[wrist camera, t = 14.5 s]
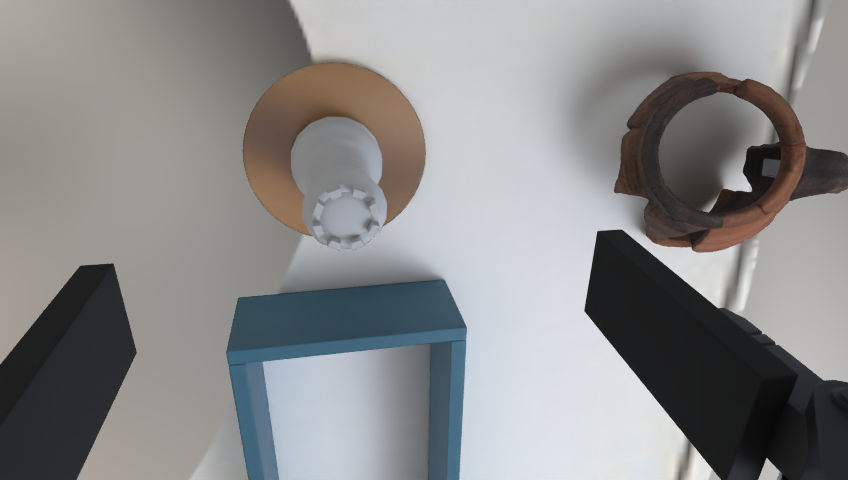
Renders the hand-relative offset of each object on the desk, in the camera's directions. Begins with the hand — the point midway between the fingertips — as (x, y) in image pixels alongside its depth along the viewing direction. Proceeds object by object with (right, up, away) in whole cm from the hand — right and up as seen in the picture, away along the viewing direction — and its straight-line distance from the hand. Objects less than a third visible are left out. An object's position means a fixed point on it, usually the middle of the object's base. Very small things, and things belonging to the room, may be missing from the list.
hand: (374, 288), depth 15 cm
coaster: (-3, +6, +12) cm, 14 cm away
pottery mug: (+17, +6, +17) cm, 24 cm away
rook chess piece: (-3, +5, +12) cm, 14 cm away
